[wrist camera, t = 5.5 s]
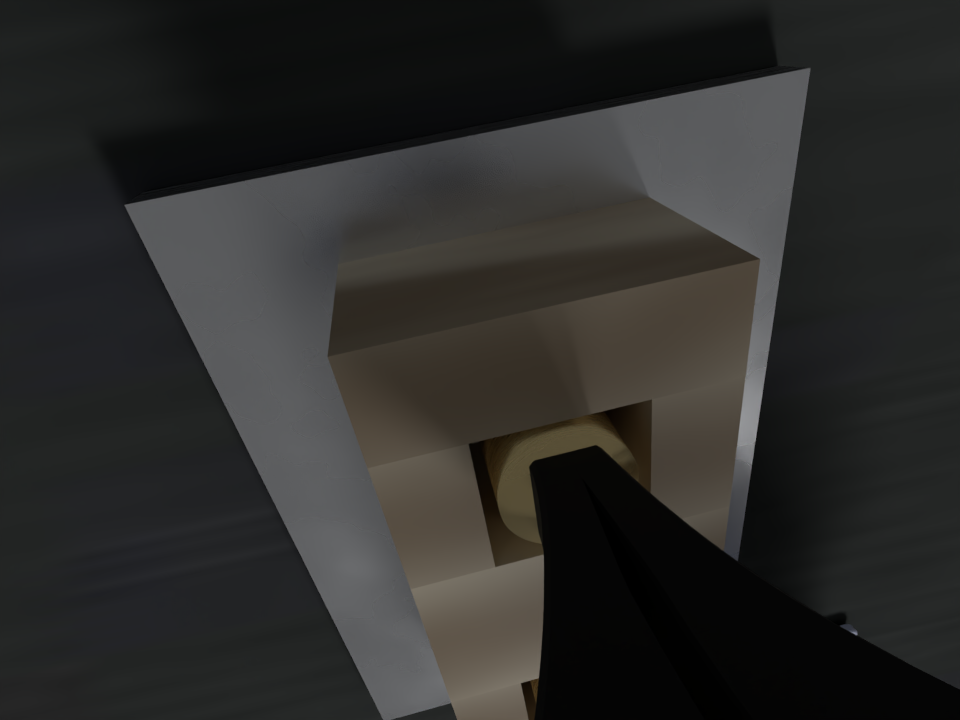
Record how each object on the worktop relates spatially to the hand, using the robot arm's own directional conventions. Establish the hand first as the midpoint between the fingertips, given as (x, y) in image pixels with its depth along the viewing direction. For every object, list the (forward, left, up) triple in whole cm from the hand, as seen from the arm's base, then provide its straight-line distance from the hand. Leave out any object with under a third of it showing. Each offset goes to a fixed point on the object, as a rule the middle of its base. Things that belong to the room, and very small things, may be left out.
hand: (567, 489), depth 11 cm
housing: (-4, 0, -5) cm, 6 cm away
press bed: (-4, 0, -5) cm, 6 cm away
